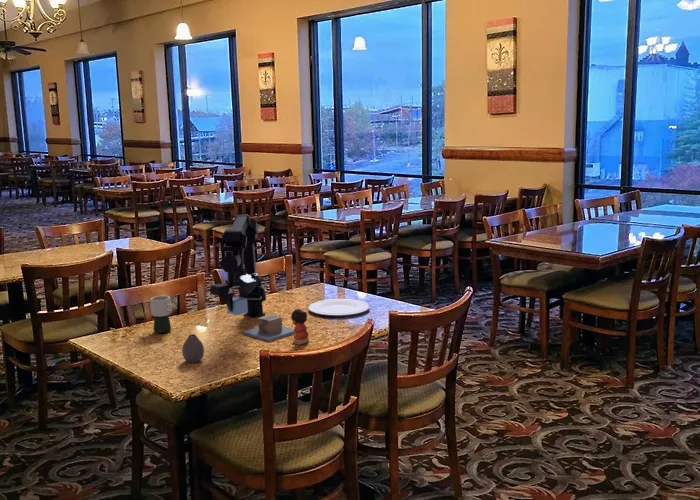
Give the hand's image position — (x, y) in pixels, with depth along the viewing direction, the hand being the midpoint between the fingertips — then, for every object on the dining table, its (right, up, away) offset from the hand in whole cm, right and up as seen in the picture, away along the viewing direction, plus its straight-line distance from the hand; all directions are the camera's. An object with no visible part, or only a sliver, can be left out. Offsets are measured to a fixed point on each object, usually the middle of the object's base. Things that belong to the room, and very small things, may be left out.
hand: (237, 309), depth 247 cm
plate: (+35, -4, +42) cm, 54 cm away
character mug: (-30, -10, +16) cm, 36 cm away
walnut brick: (+10, -9, +12) cm, 18 cm away
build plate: (+10, -10, +12) cm, 18 cm away
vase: (-12, -16, -16) cm, 25 cm away
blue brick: (0, -1, 0) cm, 1 cm away
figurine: (+22, -12, +1) cm, 25 cm away
